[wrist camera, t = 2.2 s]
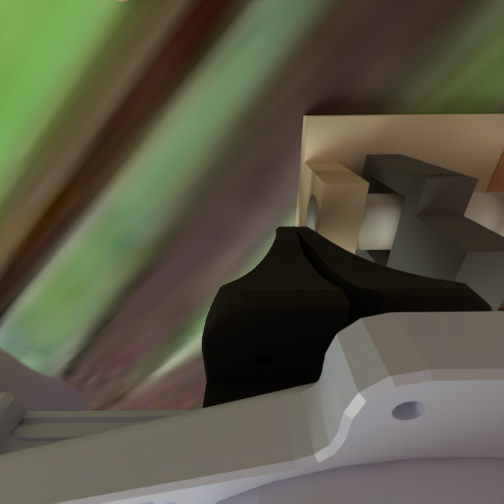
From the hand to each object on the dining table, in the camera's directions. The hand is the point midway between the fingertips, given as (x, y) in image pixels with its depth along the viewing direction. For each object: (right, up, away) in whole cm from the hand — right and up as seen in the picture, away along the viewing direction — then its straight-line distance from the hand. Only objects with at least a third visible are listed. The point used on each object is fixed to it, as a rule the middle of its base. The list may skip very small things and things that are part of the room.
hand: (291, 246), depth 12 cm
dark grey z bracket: (+6, +3, +5) cm, 8 cm away
